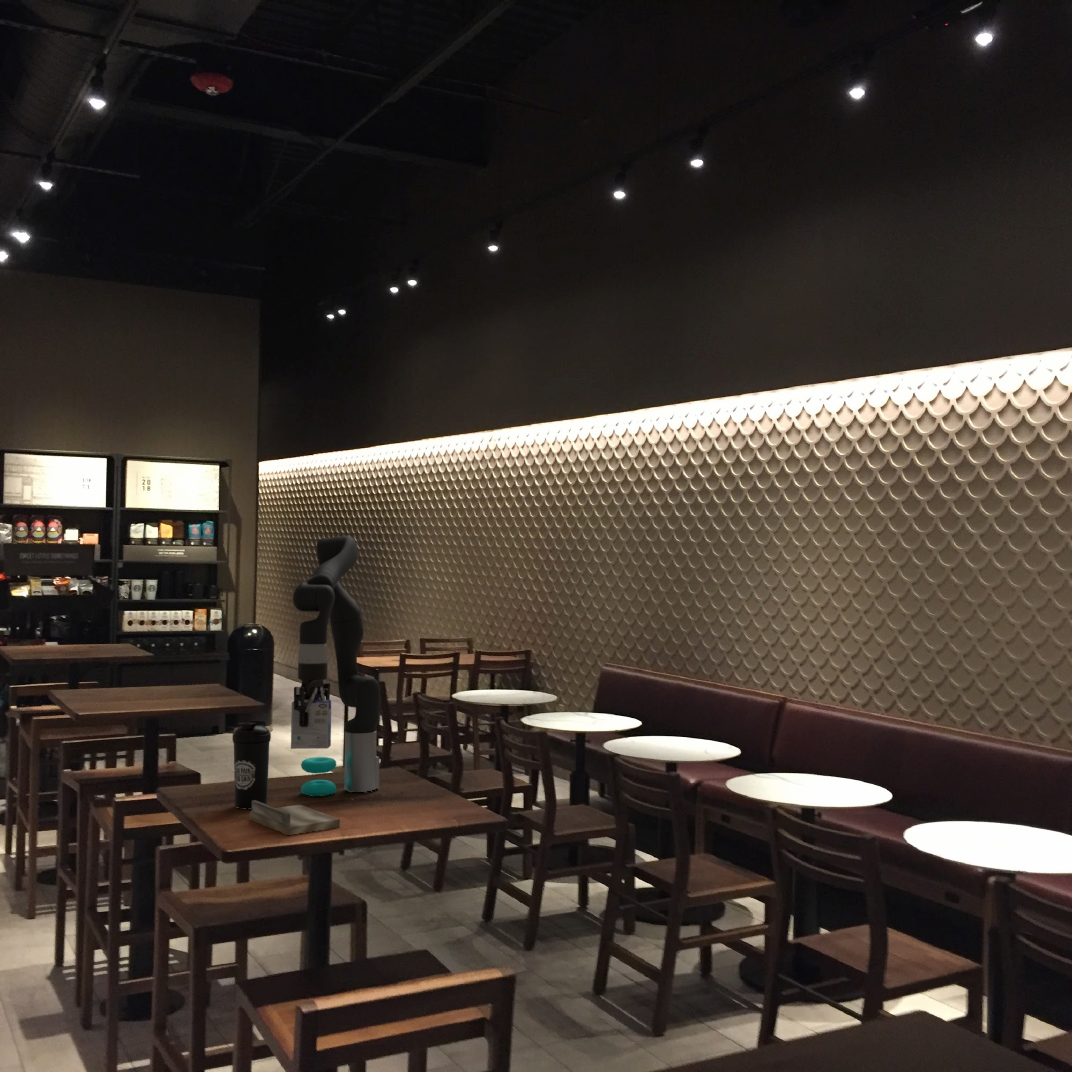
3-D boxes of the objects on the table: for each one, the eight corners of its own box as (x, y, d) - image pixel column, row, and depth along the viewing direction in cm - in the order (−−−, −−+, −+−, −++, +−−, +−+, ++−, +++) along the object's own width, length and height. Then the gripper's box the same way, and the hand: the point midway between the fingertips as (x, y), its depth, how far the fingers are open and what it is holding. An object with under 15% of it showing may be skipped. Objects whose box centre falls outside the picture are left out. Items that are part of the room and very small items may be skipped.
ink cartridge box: (331, 746, 281) (332, 690, 282) (329, 749, 276) (330, 692, 276) (293, 746, 281) (294, 690, 281) (290, 749, 275) (291, 692, 276)
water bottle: (224, 808, 289) (225, 723, 290) (245, 801, 299) (246, 718, 300) (257, 811, 286) (258, 724, 287) (277, 803, 296) (278, 719, 297)
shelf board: (299, 812, 286) (299, 793, 286) (339, 827, 268) (339, 807, 269) (248, 819, 277) (249, 800, 277) (287, 836, 259) (287, 815, 260)
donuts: (340, 760, 307) (305, 763, 303) (339, 795, 307) (305, 798, 302) (331, 755, 316) (297, 757, 312) (331, 789, 316) (297, 792, 311)
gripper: (310, 663, 271) (309, 729, 270) (339, 659, 285) (338, 722, 284) (285, 662, 274) (283, 727, 273) (315, 659, 287) (314, 721, 287)
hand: (311, 724), depth 279 cm, fingers closed on ink cartridge box, 7 cm apart
